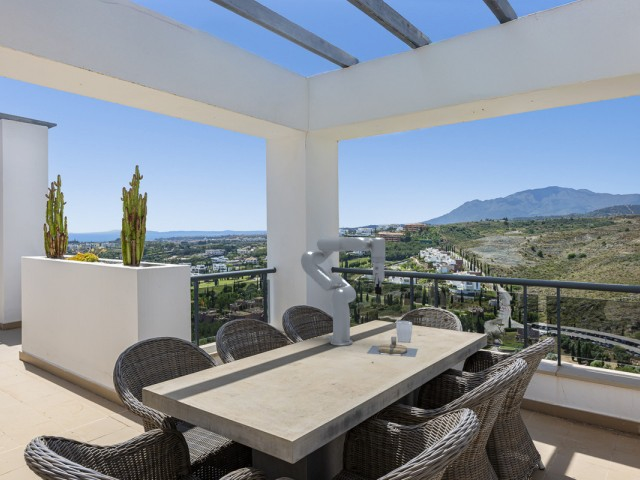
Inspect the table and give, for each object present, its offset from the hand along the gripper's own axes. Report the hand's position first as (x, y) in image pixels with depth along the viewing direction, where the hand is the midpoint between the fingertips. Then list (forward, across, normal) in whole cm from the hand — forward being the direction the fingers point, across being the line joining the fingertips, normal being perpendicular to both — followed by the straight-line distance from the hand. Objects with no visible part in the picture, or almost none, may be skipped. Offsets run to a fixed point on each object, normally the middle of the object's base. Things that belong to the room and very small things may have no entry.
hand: (378, 294), depth 232 cm
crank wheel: (+28, -10, -9) cm, 31 cm away
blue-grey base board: (+29, -10, -9) cm, 32 cm away
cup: (+29, +15, -12) cm, 35 cm away
